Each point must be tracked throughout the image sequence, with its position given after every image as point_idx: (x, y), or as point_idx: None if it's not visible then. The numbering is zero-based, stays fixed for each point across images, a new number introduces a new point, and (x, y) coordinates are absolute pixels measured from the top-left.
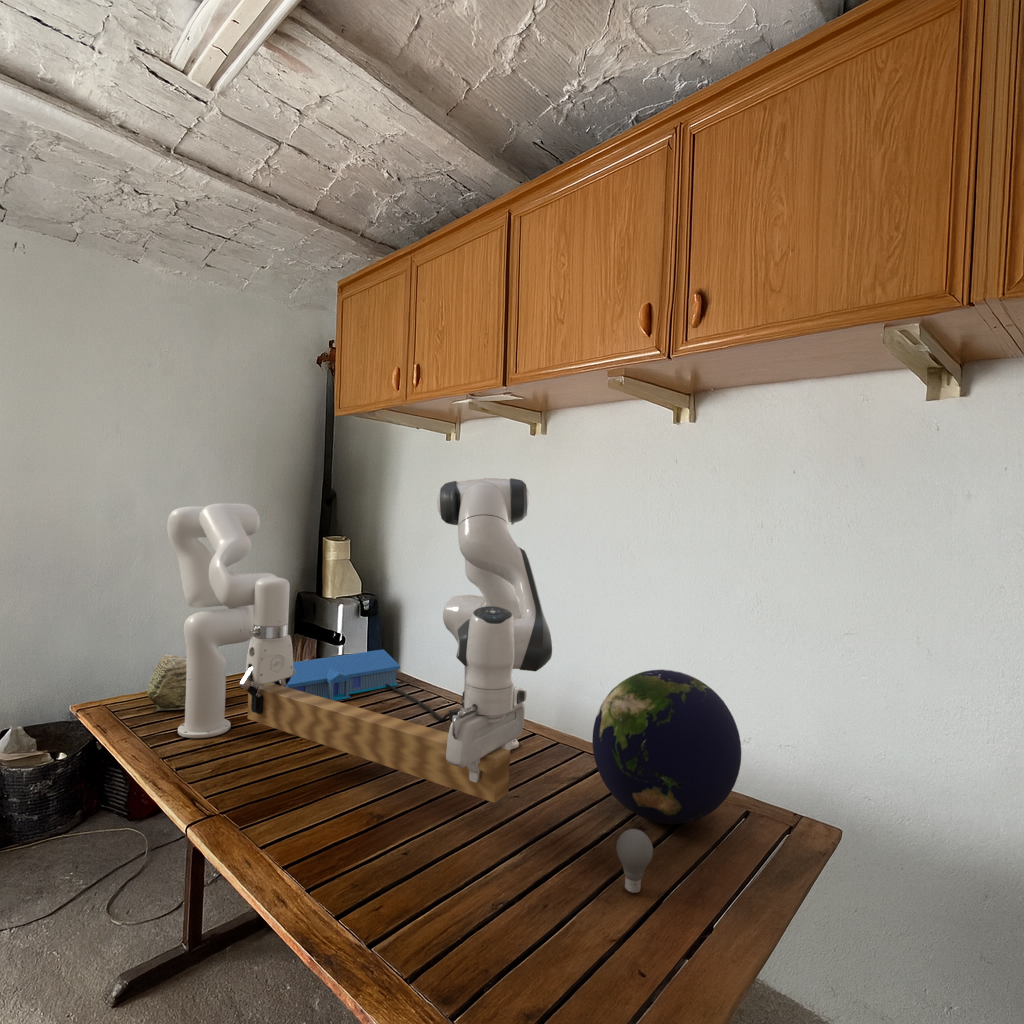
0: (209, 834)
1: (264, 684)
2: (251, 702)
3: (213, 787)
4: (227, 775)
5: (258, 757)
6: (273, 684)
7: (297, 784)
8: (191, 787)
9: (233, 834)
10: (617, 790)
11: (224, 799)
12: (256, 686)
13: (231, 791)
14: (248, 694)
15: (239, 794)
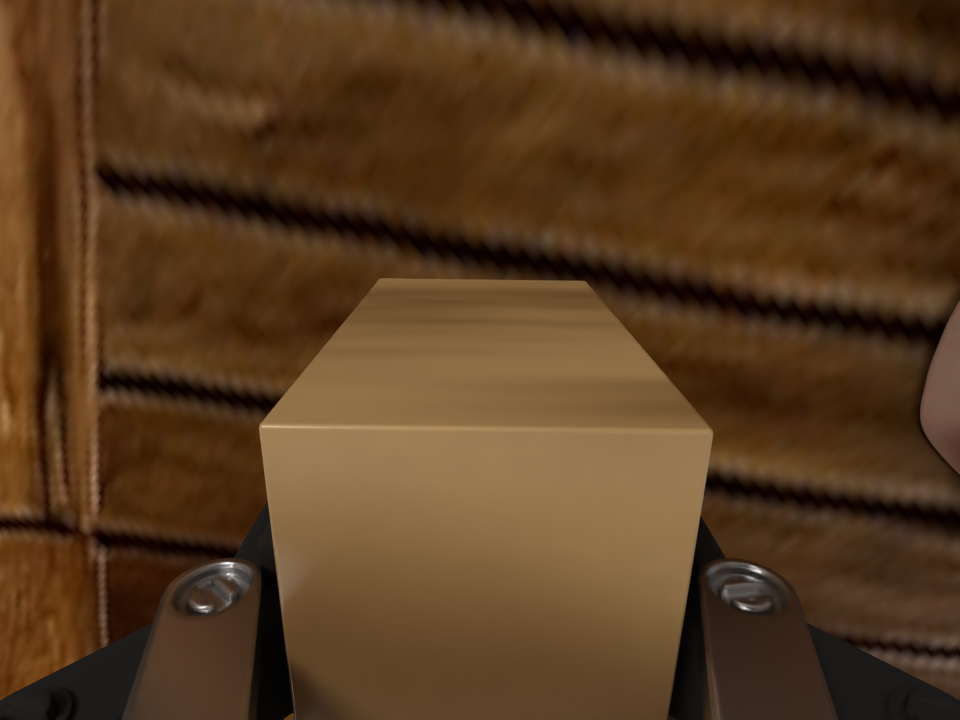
0: (3, 623)
1: (527, 584)
2: (254, 526)
3: (173, 318)
4: (289, 253)
5: (540, 180)
6: (628, 687)
7: None
8: (91, 232)
9: None
10: None
11: (157, 455)
12: (253, 702)
13: (215, 416)
14: (312, 367)
15: (226, 465)
